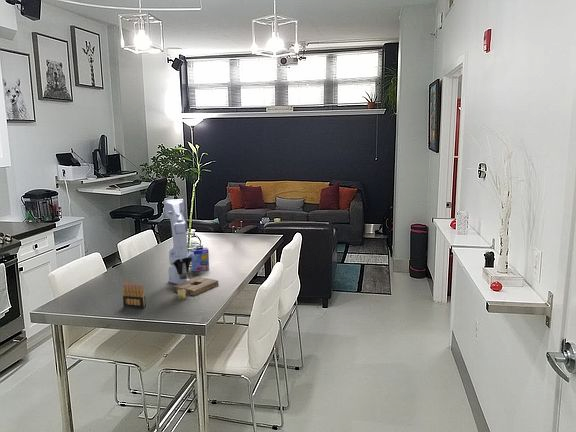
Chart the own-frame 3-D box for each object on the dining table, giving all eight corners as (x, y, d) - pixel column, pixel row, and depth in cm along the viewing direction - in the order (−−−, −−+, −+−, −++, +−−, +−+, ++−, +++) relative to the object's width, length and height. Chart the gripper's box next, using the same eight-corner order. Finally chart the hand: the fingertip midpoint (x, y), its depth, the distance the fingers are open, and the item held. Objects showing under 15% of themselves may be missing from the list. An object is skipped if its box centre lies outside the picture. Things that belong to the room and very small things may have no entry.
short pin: (176, 299, 220) (176, 290, 219) (182, 297, 223) (181, 288, 222) (182, 300, 218) (181, 291, 218) (187, 298, 221) (187, 289, 221)
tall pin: (178, 278, 230) (176, 263, 228) (183, 276, 233) (181, 261, 231) (183, 279, 228) (182, 263, 226) (188, 277, 231) (187, 262, 230)
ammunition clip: (146, 306, 211) (143, 281, 209) (143, 308, 210) (141, 282, 208) (125, 305, 214) (123, 280, 212) (123, 306, 213) (120, 281, 211)
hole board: (173, 291, 232) (172, 286, 232) (198, 281, 247) (197, 276, 247) (194, 295, 225) (193, 290, 224) (218, 285, 240) (218, 280, 239)
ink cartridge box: (192, 271, 264) (191, 247, 262) (191, 269, 269) (189, 245, 267) (209, 269, 268) (208, 245, 265) (208, 267, 273) (206, 243, 270)
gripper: (176, 250, 219) (178, 278, 222) (197, 244, 231) (199, 270, 234) (165, 248, 223) (167, 276, 225) (187, 242, 235) (189, 268, 237)
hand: (183, 273), depth 230 cm, fingers closed on tall pin, 4 cm apart
